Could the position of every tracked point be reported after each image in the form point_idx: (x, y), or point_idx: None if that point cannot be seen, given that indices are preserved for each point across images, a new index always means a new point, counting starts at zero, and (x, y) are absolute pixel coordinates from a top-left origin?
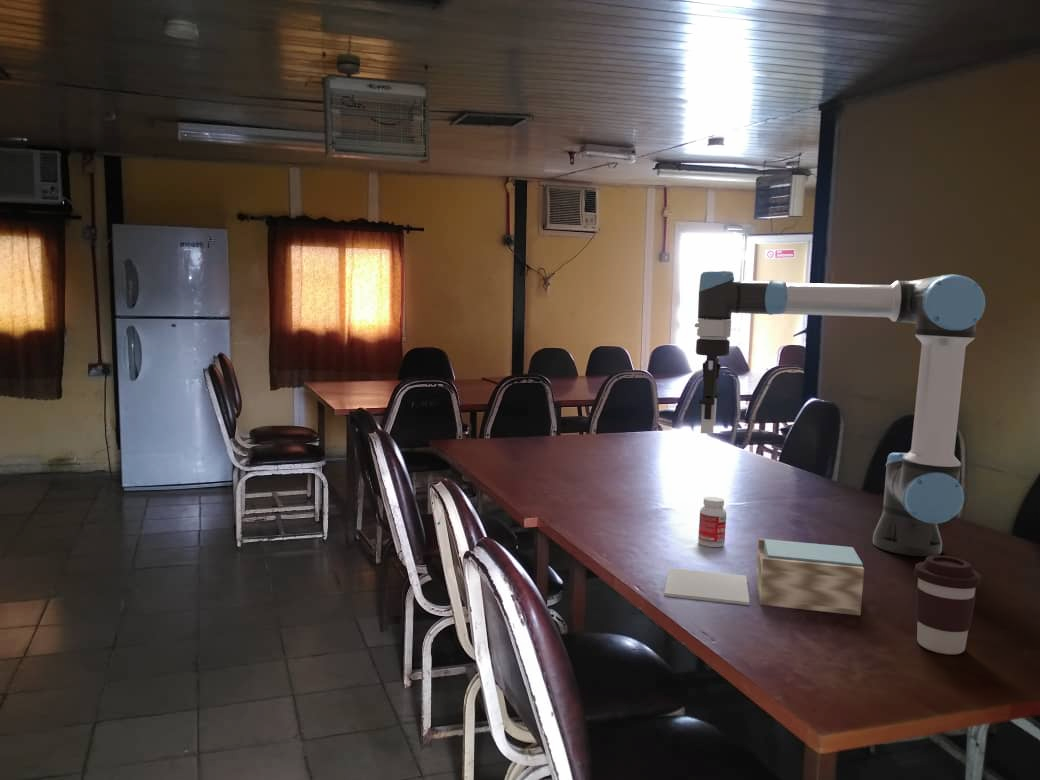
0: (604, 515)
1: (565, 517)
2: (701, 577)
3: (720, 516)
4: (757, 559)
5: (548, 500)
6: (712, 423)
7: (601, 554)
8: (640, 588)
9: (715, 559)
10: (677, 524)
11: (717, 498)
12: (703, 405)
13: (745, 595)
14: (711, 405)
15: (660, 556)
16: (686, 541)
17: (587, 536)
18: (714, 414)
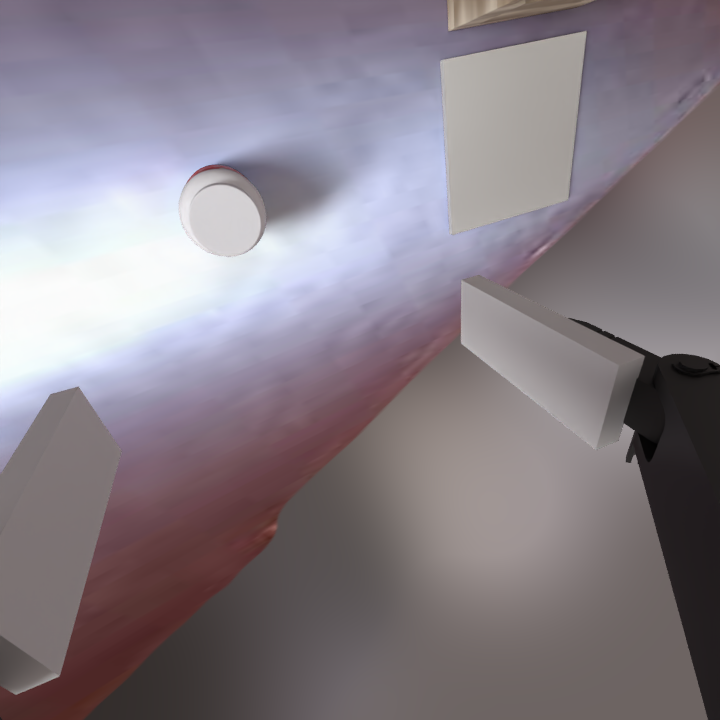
0: (161, 476)
1: (234, 506)
2: (484, 159)
3: (250, 182)
4: (482, 16)
5: (137, 586)
6: (520, 302)
7: (411, 360)
8: (540, 244)
9: (339, 161)
10: (94, 334)
11: (207, 213)
12: (614, 428)
13: (556, 44)
14: (654, 371)
15: (376, 275)
16: (238, 264)
17: (327, 423)
18: (54, 455)
